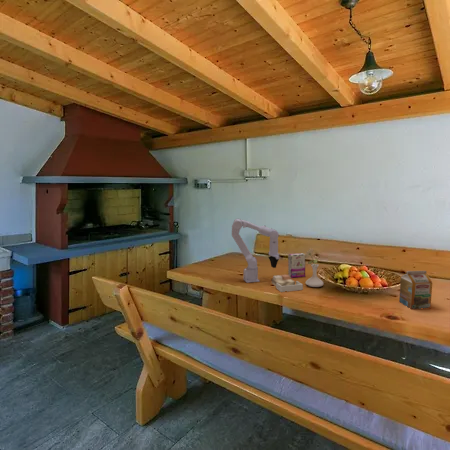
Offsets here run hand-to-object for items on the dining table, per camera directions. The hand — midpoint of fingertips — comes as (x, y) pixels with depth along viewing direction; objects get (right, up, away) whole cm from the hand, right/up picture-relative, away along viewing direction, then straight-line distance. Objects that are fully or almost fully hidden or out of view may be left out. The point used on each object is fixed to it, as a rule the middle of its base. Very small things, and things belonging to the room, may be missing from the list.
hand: (273, 267), depth 219 cm
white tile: (+2, -7, -6) cm, 9 cm away
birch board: (+5, -10, -7) cm, 14 cm away
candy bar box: (+18, -8, +10) cm, 22 cm away
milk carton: (+69, -15, -45) cm, 84 cm away
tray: (+7, -12, -16) cm, 21 cm away
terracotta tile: (+7, -7, -5) cm, 11 cm away
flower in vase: (+24, -11, -11) cm, 28 cm away
